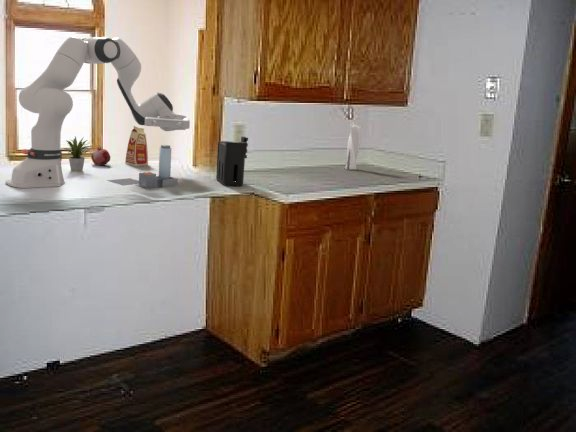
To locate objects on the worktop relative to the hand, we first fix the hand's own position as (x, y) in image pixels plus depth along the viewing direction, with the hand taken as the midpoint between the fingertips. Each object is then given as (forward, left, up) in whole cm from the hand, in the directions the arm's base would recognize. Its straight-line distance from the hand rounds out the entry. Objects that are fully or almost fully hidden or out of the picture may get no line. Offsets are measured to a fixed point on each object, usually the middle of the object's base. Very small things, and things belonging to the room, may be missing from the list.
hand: (166, 124), depth 264 cm
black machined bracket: (+27, -15, -26) cm, 41 cm away
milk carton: (+17, +45, -26) cm, 55 cm away
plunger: (-17, -9, -21) cm, 29 cm away
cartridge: (-8, -9, -25) cm, 28 cm away
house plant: (-22, +38, -26) cm, 51 cm away
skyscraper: (+128, -15, -26) cm, 132 cm away
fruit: (-2, +49, -26) cm, 55 cm away
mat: (-19, +3, -26) cm, 32 cm away
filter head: (-12, -9, -26) cm, 30 cm away
